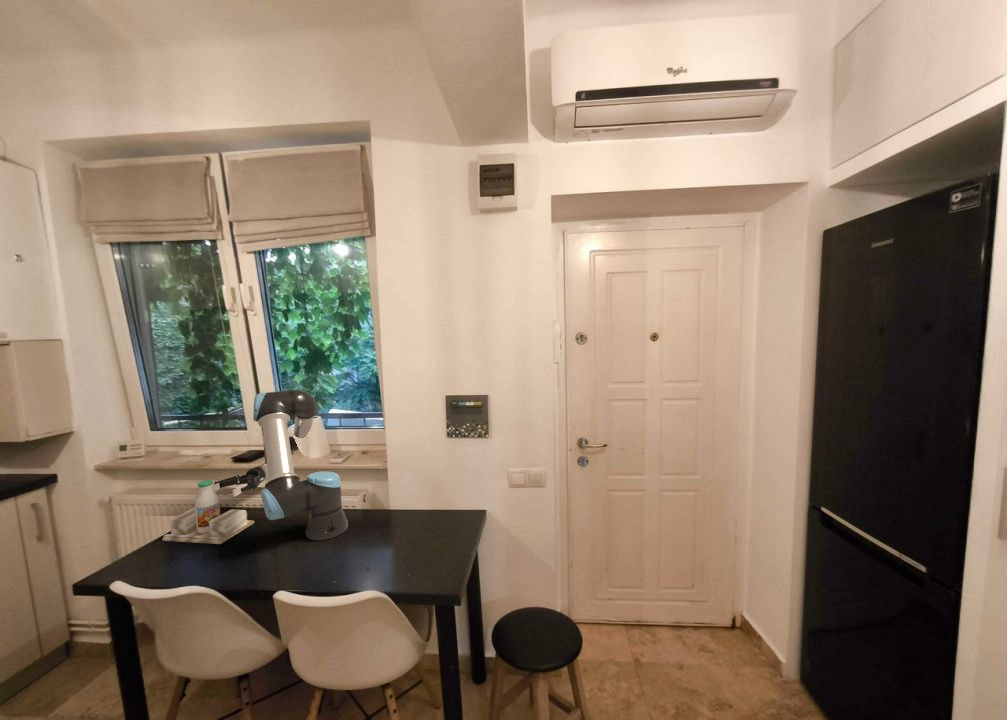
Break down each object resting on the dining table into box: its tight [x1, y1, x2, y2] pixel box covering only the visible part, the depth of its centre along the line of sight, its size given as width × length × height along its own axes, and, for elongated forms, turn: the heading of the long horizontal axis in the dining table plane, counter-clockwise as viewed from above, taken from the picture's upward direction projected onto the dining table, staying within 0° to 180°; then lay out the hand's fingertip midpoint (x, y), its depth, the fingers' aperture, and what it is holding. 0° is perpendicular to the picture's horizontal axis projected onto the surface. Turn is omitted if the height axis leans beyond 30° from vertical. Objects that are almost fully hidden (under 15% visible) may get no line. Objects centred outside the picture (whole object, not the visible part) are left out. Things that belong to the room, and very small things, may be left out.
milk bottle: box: [194, 479, 221, 534], centre depth 151 cm, size 8×8×20 cm
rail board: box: [162, 507, 255, 545], centre depth 152 cm, size 26×16×7 cm, turn 81°
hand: (218, 492), depth 157 cm, fingers open, 13 cm apart
